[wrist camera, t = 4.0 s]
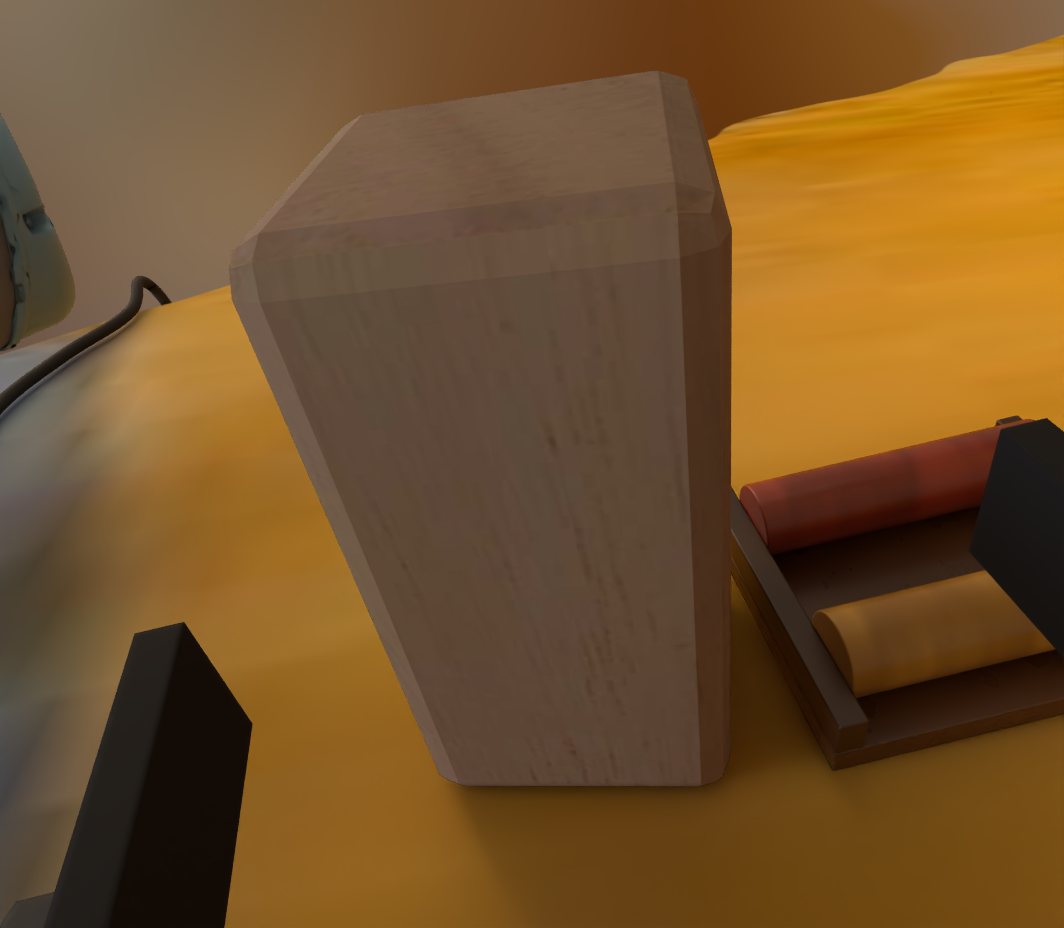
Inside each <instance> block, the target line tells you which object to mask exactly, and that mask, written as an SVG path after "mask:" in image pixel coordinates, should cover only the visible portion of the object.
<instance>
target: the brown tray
mask: <svg viewBox="0 0 1064 928" xmlns="http://www.w3.org/2000/svg"><path fill="white" fill-rule="evenodd" d="M1033 421H1035V420H1031V419H1025V420H1023V419H1021V418H1020V417H1019V416H1012V417H1008V418H1004V419H1000V420H997V422H996V425H995V426H994V427H990V428H986V429H982V430H977V431H973V432H969V433H965V434H960V435H956V436H952V437H948V438H943V439H939V440H935V441H930V442H926V443H922V444H918V445H913V446H909V447H905V448H901V449H896V450H892V451H888V452H884V453H879V454H875V455H871V456H866V457H862V458H858V459H854V460H849V461H845V462H841V463H837V464H832V465H828V466H824V467H820V468H815V469H811V470H807V471H802V472H798V473H794V474H790V475H785V476H781V477H777V478H773V479H768V480H764V481H760V482H756V483H751V484H747V485H744V486H743V487H742V488H741V491H740V501H739V499H738V497H737V495H736V494H735V492H734V490H733V489H732V487H731V574H732V576H733V578H734V580H735V582H736V584H737V585H738V587H739V589H740V591H741V593H742V595H743V597H744V599H745V601H746V603H747V605H748V607H749V609H750V611H751V613H752V615H753V616H754V618H755V620H756V622H757V624H758V626H759V628H760V630H761V632H762V634H763V636H764V638H765V640H766V642H767V644H768V646H769V647H770V649H771V651H772V653H773V655H774V657H775V659H776V661H777V663H778V665H779V667H780V669H781V671H782V673H783V675H784V677H785V678H786V680H787V682H788V684H789V686H790V688H791V690H792V692H793V694H794V696H795V698H796V700H797V702H798V704H799V706H800V708H801V709H802V711H803V713H804V715H805V717H806V719H807V721H808V723H809V725H810V727H811V729H812V731H813V733H814V735H815V737H816V739H817V740H818V742H819V744H820V746H821V748H822V750H823V752H824V754H825V756H826V758H827V760H828V762H829V764H830V766H831V768H832V769H833V770H838V769H842V768H846V767H850V766H854V765H858V764H862V763H866V762H870V761H874V760H878V759H882V758H886V757H890V756H894V755H898V754H902V753H906V752H910V751H914V750H918V749H922V748H926V747H931V746H935V745H939V744H943V743H947V742H951V741H955V740H959V739H963V738H967V737H971V736H975V735H979V734H983V733H987V732H991V731H995V730H999V729H1003V728H1007V727H1011V726H1015V725H1019V724H1023V723H1027V722H1031V721H1035V720H1039V719H1043V718H1048V717H1052V716H1056V715H1060V714H1064V658H1063V657H1062V656H1061V655H1060V654H1059V652H1058V651H1057V650H1056V649H1055V648H1054V647H1053V646H1052V645H1051V643H1050V642H1049V641H1048V640H1047V639H1046V638H1045V637H1044V636H1043V634H1042V633H1041V632H1040V631H1039V630H1038V629H1037V628H1036V627H1035V625H1034V624H1033V623H1032V622H1031V621H1030V620H1029V619H1028V618H1027V616H1026V615H1025V614H1024V613H1023V612H1022V611H1021V610H1020V608H1019V607H1018V606H1017V605H1016V604H1015V603H1014V602H1013V601H1012V599H1011V598H1010V597H1009V596H1008V595H1007V594H1006V593H1005V592H1004V590H1003V589H1002V588H1001V587H1000V586H999V585H998V584H997V583H996V581H995V580H994V579H993V578H992V577H991V576H990V575H989V574H988V572H987V571H986V570H985V569H984V568H983V567H982V566H981V565H980V563H979V562H978V561H977V560H976V559H975V558H974V557H973V556H972V554H971V553H970V552H969V548H970V544H971V540H972V536H973V533H974V529H975V525H976V521H977V517H978V514H979V510H980V506H981V502H982V498H983V494H984V491H985V487H986V483H987V479H988V475H989V472H990V468H991V464H992V460H993V456H994V453H995V449H996V445H997V441H998V437H999V434H1000V430H1001V429H1003V428H1007V427H1011V426H1016V425H1020V424H1024V423H1028V422H1033Z"/></svg>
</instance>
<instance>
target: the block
mask: <svg viewBox="0 0 1064 928" xmlns="http://www.w3.org/2000/svg"><path fill="white" fill-rule="evenodd" d="M229 274H230V284H231V294H232V301H233V303H234V305H235V308H236V310H237V312H238V315H239V317H240V319H241V321H242V324H243V326H244V328H245V331H246V333H247V335H248V337H249V340H250V342H251V344H252V347H253V349H254V351H255V353H256V356H257V358H258V360H259V363H260V365H261V367H262V369H263V372H264V374H265V376H266V379H267V381H268V383H269V385H270V388H271V390H272V392H273V394H274V397H275V399H276V401H277V404H278V406H279V408H280V410H281V413H282V415H283V417H284V420H285V422H286V424H287V426H288V429H289V431H290V433H291V436H292V438H293V440H294V442H295V445H296V447H297V449H298V452H299V454H300V456H301V458H302V461H303V463H304V465H305V468H306V470H307V472H308V474H309V477H310V479H311V481H312V484H313V486H314V488H315V490H316V493H317V495H318V497H319V500H320V502H321V504H322V506H323V509H324V511H325V513H326V516H327V518H328V520H329V522H330V525H331V527H332V529H333V532H334V534H335V536H336V538H337V541H338V543H339V545H340V548H341V550H342V552H343V554H344V557H345V559H346V561H347V564H348V566H349V568H350V570H351V573H352V575H353V577H354V580H355V582H356V584H357V586H358V589H359V591H360V593H361V595H362V598H363V600H364V602H365V605H366V607H367V609H368V611H369V614H370V616H371V618H372V621H373V623H374V625H375V627H376V630H377V632H378V634H379V637H380V639H381V641H382V643H383V646H384V648H385V650H386V653H387V655H388V657H389V659H390V662H391V664H392V666H393V669H394V671H395V673H396V675H397V678H398V680H399V682H400V685H401V687H402V689H403V691H404V694H405V696H406V698H407V701H408V703H409V705H410V707H411V710H412V712H413V714H414V717H415V719H416V721H417V723H418V726H419V728H420V730H421V733H422V735H423V737H424V739H425V742H426V744H427V746H428V749H429V751H430V753H431V755H432V758H433V760H434V762H435V765H436V767H437V769H438V771H439V774H440V775H441V776H442V777H444V778H446V779H447V780H449V781H452V782H455V783H458V784H461V785H464V786H703V785H706V784H709V783H712V782H715V781H718V780H719V779H720V778H721V777H722V775H723V773H724V770H725V767H726V765H727V762H728V759H729V756H730V587H731V294H732V228H731V224H730V220H729V217H728V213H727V210H726V206H725V202H724V199H723V195H722V191H721V188H720V184H719V180H718V177H717V173H716V169H715V166H714V162H713V158H712V155H711V151H710V147H709V144H708V140H707V137H706V133H705V129H704V126H703V122H702V118H701V115H700V111H699V108H698V105H697V103H696V100H695V98H694V96H693V94H692V91H691V89H690V87H689V84H688V82H687V80H686V78H682V77H679V76H675V75H672V74H668V73H665V72H661V71H658V70H657V71H650V72H643V73H637V74H629V75H623V76H616V77H609V78H602V79H596V80H589V81H582V82H576V83H569V84H562V85H555V86H549V87H542V88H535V89H528V90H521V91H515V92H508V93H501V94H495V95H487V96H481V97H475V98H467V99H460V100H454V101H448V102H440V103H433V104H427V105H420V106H414V107H406V108H400V109H393V110H386V111H380V112H372V113H366V114H362V115H361V116H359V117H358V118H356V119H355V120H353V121H352V122H350V123H349V124H347V125H346V126H344V127H343V128H342V129H341V130H340V131H339V132H338V133H337V134H336V135H335V136H334V138H333V139H332V140H331V141H330V142H329V143H328V144H327V145H326V147H325V148H324V149H323V150H322V151H321V152H320V153H319V154H318V155H317V156H316V158H315V159H314V160H313V161H312V162H311V163H310V164H309V165H308V167H307V168H306V169H305V170H304V171H303V172H302V173H301V174H300V175H299V177H298V178H297V179H296V180H295V181H294V182H293V184H291V185H290V187H289V188H288V189H287V190H286V191H285V192H284V194H282V196H281V197H280V198H279V199H278V200H277V201H276V202H275V203H274V204H273V205H272V207H271V208H270V209H269V210H268V211H267V212H266V213H265V214H264V216H263V217H262V218H261V219H260V220H259V221H258V222H257V223H256V224H255V226H254V227H253V228H252V229H251V230H250V231H249V232H248V233H247V234H246V236H245V237H244V238H243V239H242V240H241V241H240V243H238V245H237V246H236V247H235V248H234V249H233V250H232V252H231V259H230V267H229Z"/></svg>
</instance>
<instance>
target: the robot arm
mask: <svg viewBox="0 0 1064 928" xmlns="http://www.w3.org/2000/svg"><path fill="white" fill-rule="evenodd" d="M143 287H144V288H146V289H147V290H149V291H150V292H151V293H152V294H153V296H154V297H155V298H156V299H157V300H158V301H159V303H160V304H161V306H163V305H166V304H170V303H172V302H171V301H170V299H169V298H168V297H167V295H166V294H165V293H164V292H163V290H162V289H161V288H160V287H159V286H158V285H156V283H154V282H153V281H152V280H150V279H149V278H146V277H144V276H137V277H135V278H134V279H133V280H132V285H131V298H130V301H129V304H128V305H127V306H126V308H125V309H123V310H122V311H121V312H120V313H119V314H117V315H116V316H115V317H113V318H112V319H110V320H109V321H107V322H106V323H104V324H103V325H101V326H99V327H97V328H96V329H94V330H92V331H91V332H89V333H87V334H85V335H84V336H82V337H80V338H78V339H77V340H75V341H73V342H72V343H70V344H69V345H67V346H65V347H64V348H62V349H61V350H59V351H58V352H57V353H55V354H54V355H52V356H51V357H49V358H48V359H46V360H45V361H44V362H42V363H41V364H39V365H38V366H36V367H35V368H33V369H32V370H31V371H29V372H28V373H26V374H25V375H24V376H22V377H21V378H20V379H18V380H17V381H16V382H14V383H13V384H12V385H10V386H9V387H8V388H7V389H6V390H4V391H3V392H2V393H1V394H0V414H1V413H2V412H3V411H4V410H5V409H6V408H7V407H8V406H9V405H10V404H11V403H12V402H14V401H15V400H16V399H17V398H18V397H19V396H20V395H22V394H23V393H24V392H25V391H27V390H28V389H29V388H30V387H32V386H33V385H34V384H36V383H37V382H38V381H40V380H41V379H43V378H44V377H45V376H47V375H48V374H50V373H51V372H52V371H54V370H55V369H57V368H58V367H59V366H61V365H62V364H64V363H65V362H66V361H68V360H69V359H71V358H72V357H74V356H75V355H77V354H78V353H80V352H81V351H83V350H84V349H86V348H88V347H89V346H91V345H93V344H95V343H96V342H98V341H100V340H101V339H103V338H105V337H106V336H108V335H110V334H111V333H113V332H115V331H116V330H118V329H119V328H121V327H122V326H123V325H125V324H126V323H127V322H128V321H130V320H131V319H132V318H133V317H134V316H135V315H136V314H137V313H138V311H139V309H140V307H141V304H142V299H143ZM74 302H75V285H74V280H73V277H72V273H71V270H70V267H69V264H68V261H67V258H66V255H65V252H64V250H63V247H62V245H61V242H60V240H59V238H58V235H57V233H56V230H55V228H54V226H53V224H52V222H51V220H50V218H49V217H48V215H47V214H46V213H45V210H44V205H43V202H42V200H41V198H40V195H39V192H38V189H37V186H36V184H35V182H34V180H33V178H32V175H31V173H30V171H29V169H28V167H27V165H26V163H25V160H24V158H23V157H22V154H21V152H20V150H19V148H18V146H17V144H16V142H15V140H14V138H13V136H12V134H11V132H10V131H9V129H8V127H7V125H6V123H5V121H4V119H3V117H2V116H1V114H0V351H5V350H8V349H11V348H14V347H15V346H16V345H17V344H18V343H19V342H20V340H21V339H23V338H26V337H28V336H30V335H32V334H35V333H37V332H39V331H42V330H44V329H46V328H49V327H51V326H53V325H56V324H58V323H59V322H61V321H62V320H63V319H64V318H66V317H67V316H68V314H69V313H70V312H71V310H72V308H73V305H74ZM969 552H970V553H971V554H972V556H973V557H974V558H975V559H976V560H977V561H978V562H979V563H980V565H981V566H982V567H983V568H984V569H985V570H986V571H987V572H988V574H989V575H990V576H991V577H992V578H993V579H994V580H995V581H996V583H997V584H998V585H999V586H1000V587H1001V588H1002V589H1003V590H1004V592H1005V593H1006V594H1007V595H1008V596H1009V597H1010V598H1011V599H1012V601H1013V602H1014V603H1015V604H1016V605H1017V606H1018V607H1019V608H1020V610H1021V611H1022V612H1023V613H1024V614H1025V615H1026V616H1027V618H1028V619H1029V620H1030V621H1031V622H1032V623H1033V624H1034V625H1035V627H1036V628H1037V629H1038V630H1039V631H1040V632H1041V633H1042V634H1043V636H1044V637H1045V638H1046V639H1047V640H1048V641H1049V642H1050V643H1051V645H1052V646H1053V647H1054V648H1055V649H1056V650H1057V651H1058V652H1059V654H1060V655H1061V656H1062V657H1063V658H1064V432H1063V431H1062V430H1061V429H1060V428H1058V427H1057V426H1056V425H1055V424H1053V423H1052V422H1051V421H1050V420H1048V419H1047V418H1045V419H1041V420H1037V421H1033V422H1028V423H1024V424H1020V425H1016V426H1011V427H1007V428H1003V429H1001V430H1000V434H999V437H998V441H997V445H996V449H995V453H994V456H993V460H992V464H991V468H990V472H989V475H988V479H987V483H986V487H985V491H984V494H983V498H982V502H981V506H980V510H979V514H978V517H977V521H976V525H975V529H974V533H973V536H972V540H971V544H970V548H969ZM251 731H252V722H251V721H250V719H249V718H248V716H247V715H246V713H245V712H244V710H243V709H242V708H241V706H240V705H239V703H238V702H237V700H236V699H235V697H234V696H233V694H232V693H231V691H230V690H229V688H228V687H227V685H226V684H225V682H224V681H223V679H222V678H221V676H220V675H219V673H218V672H217V670H216V669H215V667H214V666H213V664H212V663H211V661H210V660H209V658H208V657H207V655H206V654H205V652H204V651H203V649H202V648H201V647H200V645H199V644H198V642H197V641H196V639H195V638H194V636H193V635H192V633H191V632H190V630H189V629H188V627H187V626H186V624H185V623H184V622H182V623H178V624H173V625H169V626H165V627H161V628H157V629H152V630H148V631H144V632H140V633H135V634H134V637H133V641H132V644H131V647H130V650H129V653H128V657H127V660H126V663H125V666H124V670H123V673H122V676H121V679H120V682H119V686H118V689H117V692H116V695H115V699H114V702H113V705H112V708H111V711H110V715H109V718H108V721H107V724H106V728H105V731H104V734H103V737H102V740H101V744H100V747H99V750H98V753H97V757H96V760H95V763H94V766H93V769H92V773H91V776H90V779H89V782H88V786H87V789H86V792H85V795H84V798H83V802H82V805H81V808H80V811H79V815H78V818H77V821H76V824H75V827H74V831H73V834H72V837H71V840H70V844H69V847H68V850H67V853H66V856H65V860H64V863H63V866H62V869H61V873H60V876H59V879H58V882H57V885H56V889H55V892H53V893H49V894H45V895H41V896H37V897H33V898H29V899H25V900H20V901H16V902H15V904H14V905H13V907H12V908H11V910H10V911H9V913H8V914H7V916H6V917H5V919H4V920H3V922H2V923H1V925H0V928H224V926H225V919H226V912H227V904H228V897H229V890H230V883H231V875H232V868H233V861H234V854H235V847H236V839H237V832H238V825H239V818H240V810H241V803H242V796H243V789H244V781H245V774H246V767H247V760H248V753H249V745H250V738H251Z"/></svg>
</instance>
